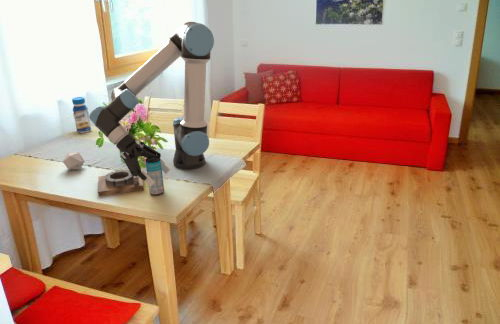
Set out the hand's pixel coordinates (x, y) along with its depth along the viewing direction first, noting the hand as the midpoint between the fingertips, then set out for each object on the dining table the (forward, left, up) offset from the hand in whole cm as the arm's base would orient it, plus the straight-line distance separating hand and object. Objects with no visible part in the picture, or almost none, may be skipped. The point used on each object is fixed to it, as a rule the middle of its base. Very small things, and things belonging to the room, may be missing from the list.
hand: (160, 178), depth 167 cm
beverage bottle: (+35, -100, -7) cm, 107 cm away
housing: (+16, -14, -7) cm, 23 cm away
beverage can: (+2, -1, -7) cm, 8 cm away
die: (+36, -40, -7) cm, 55 cm away
